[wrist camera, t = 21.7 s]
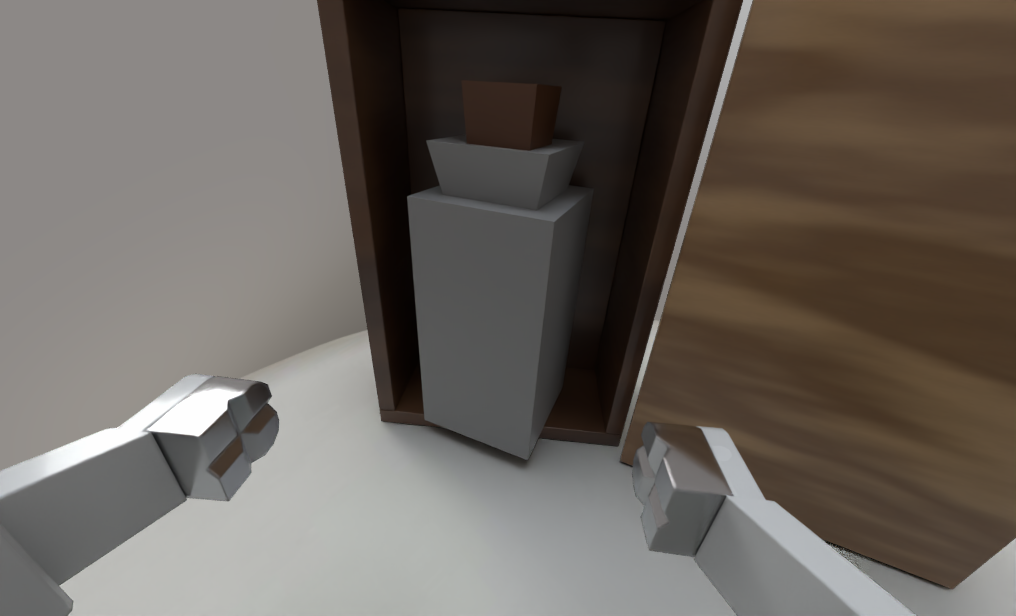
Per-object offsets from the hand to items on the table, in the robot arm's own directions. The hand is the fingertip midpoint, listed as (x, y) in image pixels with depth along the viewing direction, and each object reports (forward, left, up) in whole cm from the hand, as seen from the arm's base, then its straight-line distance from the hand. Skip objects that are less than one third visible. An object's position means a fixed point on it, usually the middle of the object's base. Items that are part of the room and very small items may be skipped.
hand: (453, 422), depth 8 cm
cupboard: (0, +15, -12) cm, 19 cm away
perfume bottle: (0, +13, -12) cm, 17 cm away
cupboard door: (+16, +10, -12) cm, 22 cm away
